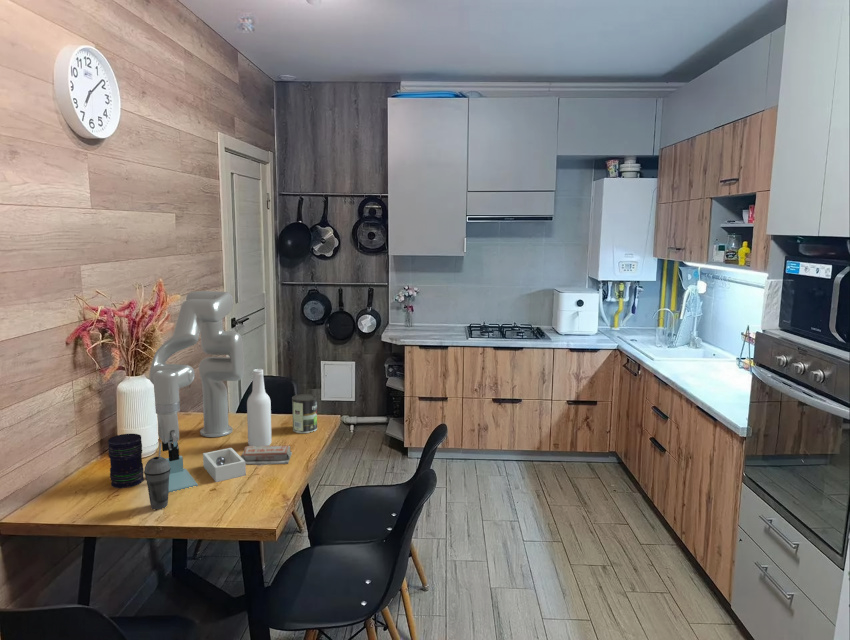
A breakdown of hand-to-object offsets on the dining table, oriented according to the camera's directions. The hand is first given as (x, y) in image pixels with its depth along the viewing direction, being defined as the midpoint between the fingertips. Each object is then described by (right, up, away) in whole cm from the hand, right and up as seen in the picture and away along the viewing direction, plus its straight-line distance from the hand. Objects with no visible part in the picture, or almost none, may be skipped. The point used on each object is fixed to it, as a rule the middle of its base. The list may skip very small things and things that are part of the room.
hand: (170, 455), depth 197 cm
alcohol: (+22, -3, +29) cm, 37 cm away
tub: (+17, -7, +4) cm, 18 cm away
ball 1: (+14, -4, +7) cm, 17 cm away
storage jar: (-12, -8, -6) cm, 15 cm away
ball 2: (+15, -4, +3) cm, 16 cm away
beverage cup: (+6, -11, -22) cm, 25 cm away
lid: (+3, -8, -4) cm, 10 cm away
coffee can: (+36, 0, +48) cm, 60 cm away
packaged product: (+28, -6, +16) cm, 32 cm away
